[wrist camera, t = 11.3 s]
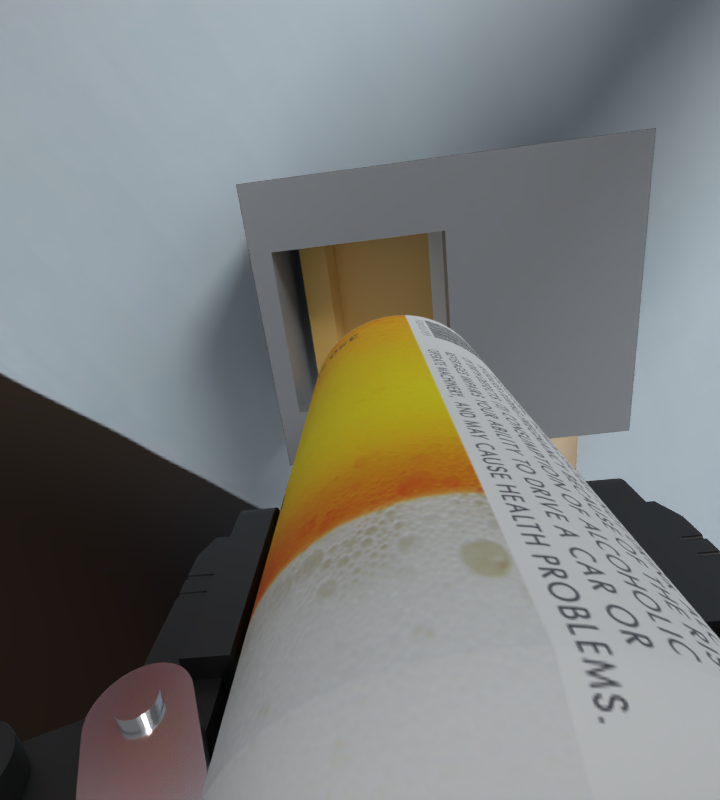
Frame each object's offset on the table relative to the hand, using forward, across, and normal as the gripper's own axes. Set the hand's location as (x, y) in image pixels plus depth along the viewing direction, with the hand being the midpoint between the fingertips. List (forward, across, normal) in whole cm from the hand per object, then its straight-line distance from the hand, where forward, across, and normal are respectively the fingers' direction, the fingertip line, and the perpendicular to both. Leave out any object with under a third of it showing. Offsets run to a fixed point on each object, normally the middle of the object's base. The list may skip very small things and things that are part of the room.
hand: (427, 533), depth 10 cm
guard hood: (+24, -3, -1) cm, 25 cm away
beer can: (+9, 0, 0) cm, 9 cm away
